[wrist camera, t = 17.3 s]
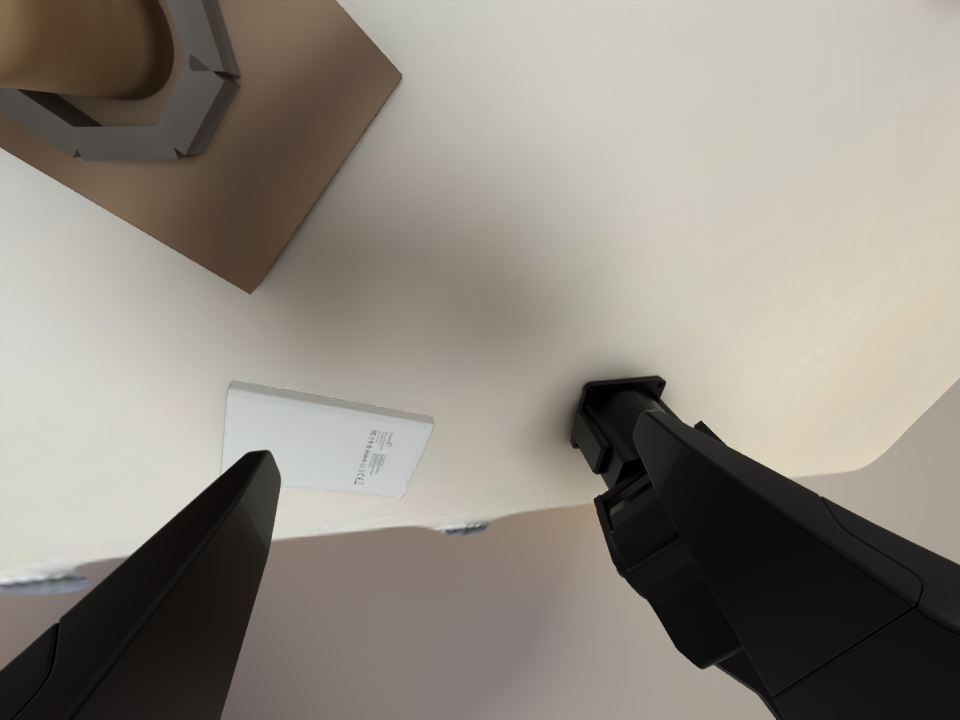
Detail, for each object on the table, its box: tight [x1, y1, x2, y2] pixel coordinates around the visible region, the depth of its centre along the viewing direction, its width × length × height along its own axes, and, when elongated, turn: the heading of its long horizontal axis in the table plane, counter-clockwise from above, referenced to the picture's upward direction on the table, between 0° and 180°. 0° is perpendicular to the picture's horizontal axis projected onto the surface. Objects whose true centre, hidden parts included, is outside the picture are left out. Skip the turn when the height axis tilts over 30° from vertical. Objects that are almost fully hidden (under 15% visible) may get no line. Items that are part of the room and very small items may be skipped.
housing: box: [0, 0, 402, 294], centre depth 11 cm, size 16×12×2 cm
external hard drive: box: [220, 381, 434, 498], centre depth 25 cm, size 2×8×12 cm
